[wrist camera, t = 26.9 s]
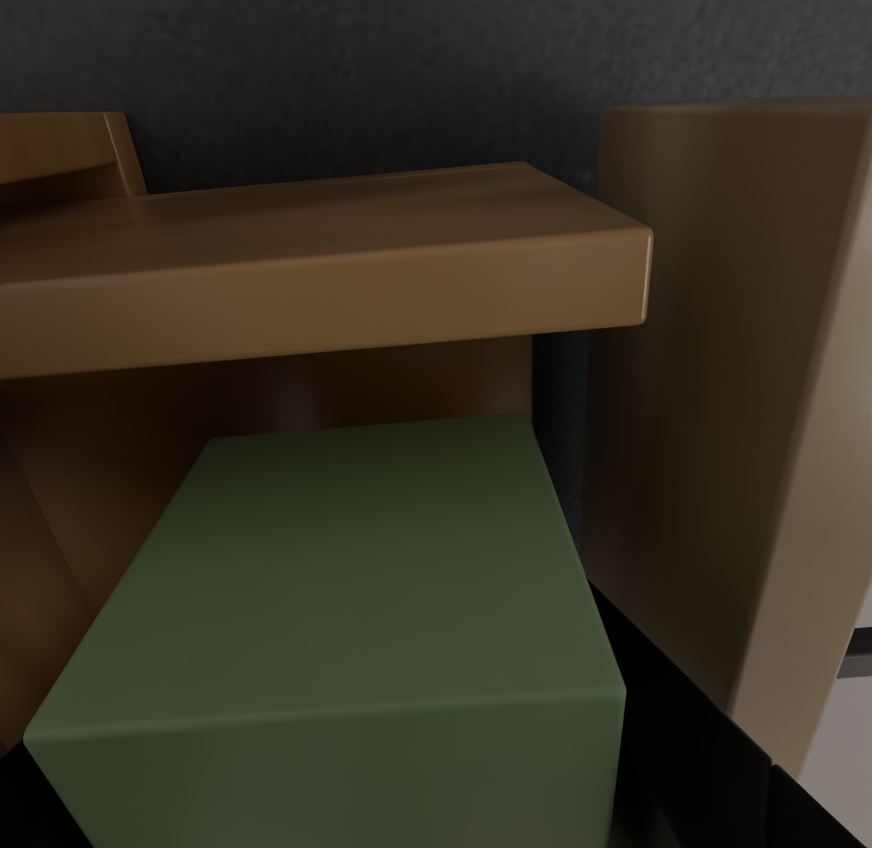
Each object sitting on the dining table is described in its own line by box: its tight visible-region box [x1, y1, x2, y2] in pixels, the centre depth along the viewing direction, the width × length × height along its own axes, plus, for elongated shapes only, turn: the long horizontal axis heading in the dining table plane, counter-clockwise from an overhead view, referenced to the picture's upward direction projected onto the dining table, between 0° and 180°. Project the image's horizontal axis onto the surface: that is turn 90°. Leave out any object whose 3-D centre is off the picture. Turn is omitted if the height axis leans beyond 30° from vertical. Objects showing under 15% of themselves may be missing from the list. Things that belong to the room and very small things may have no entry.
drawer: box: [0, 95, 872, 783], centre depth 10 cm, size 18×11×7 cm, turn 95°
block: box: [23, 413, 627, 848], centre depth 7 cm, size 4×4×4 cm
